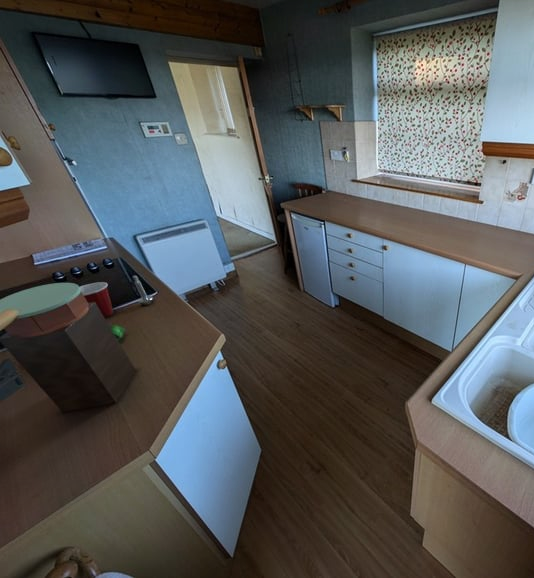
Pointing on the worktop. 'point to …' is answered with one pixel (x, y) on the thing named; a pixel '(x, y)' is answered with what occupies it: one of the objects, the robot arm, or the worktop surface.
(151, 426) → the worktop surface
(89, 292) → the plastic cup
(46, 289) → the green flat oval disc
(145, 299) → the screw
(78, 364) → the plinth
